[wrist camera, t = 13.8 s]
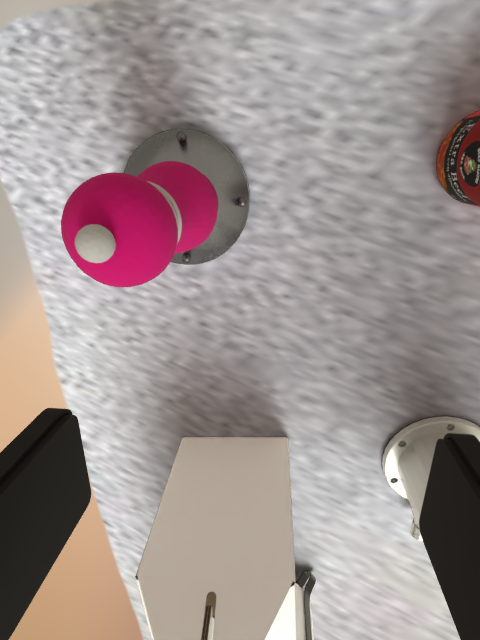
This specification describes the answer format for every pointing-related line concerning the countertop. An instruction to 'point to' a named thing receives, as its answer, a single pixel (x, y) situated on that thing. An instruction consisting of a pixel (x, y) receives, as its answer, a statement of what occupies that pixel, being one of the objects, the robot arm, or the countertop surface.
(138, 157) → the grey metal disc
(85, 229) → the pepper mill
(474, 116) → the canned food
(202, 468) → the gable box
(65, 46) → the countertop surface
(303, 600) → the coffee press
